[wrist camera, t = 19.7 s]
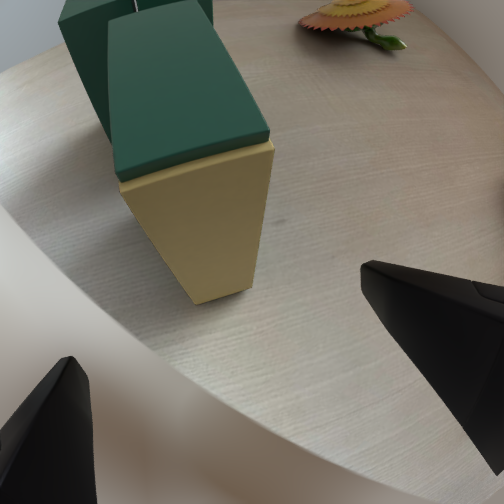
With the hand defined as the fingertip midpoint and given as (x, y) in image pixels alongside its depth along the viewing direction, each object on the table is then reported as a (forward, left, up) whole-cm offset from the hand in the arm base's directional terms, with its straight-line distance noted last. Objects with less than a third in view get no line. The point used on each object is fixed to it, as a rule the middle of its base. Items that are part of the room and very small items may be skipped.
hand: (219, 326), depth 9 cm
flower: (+37, +7, -11) cm, 39 cm away
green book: (+5, +5, -10) cm, 13 cm away
